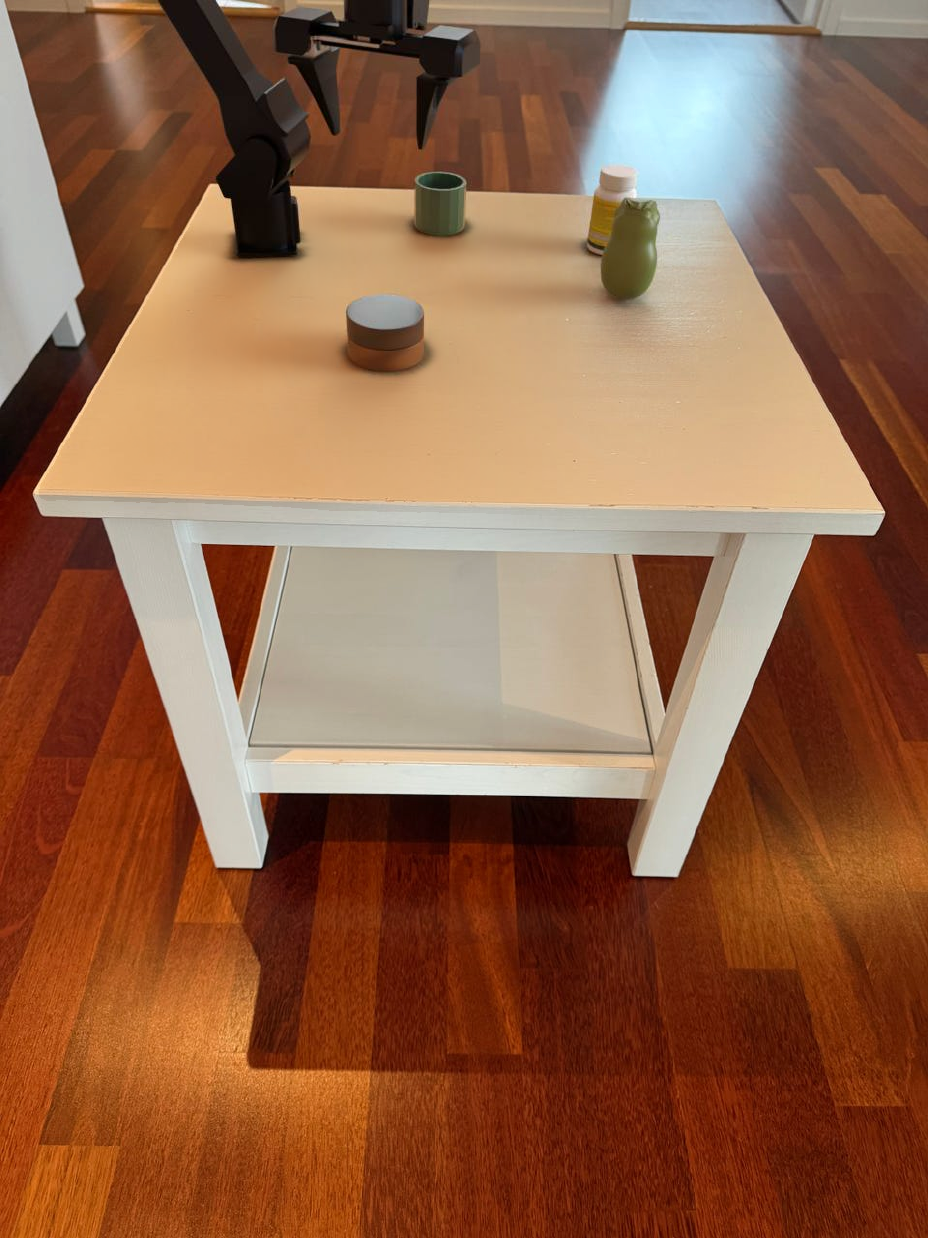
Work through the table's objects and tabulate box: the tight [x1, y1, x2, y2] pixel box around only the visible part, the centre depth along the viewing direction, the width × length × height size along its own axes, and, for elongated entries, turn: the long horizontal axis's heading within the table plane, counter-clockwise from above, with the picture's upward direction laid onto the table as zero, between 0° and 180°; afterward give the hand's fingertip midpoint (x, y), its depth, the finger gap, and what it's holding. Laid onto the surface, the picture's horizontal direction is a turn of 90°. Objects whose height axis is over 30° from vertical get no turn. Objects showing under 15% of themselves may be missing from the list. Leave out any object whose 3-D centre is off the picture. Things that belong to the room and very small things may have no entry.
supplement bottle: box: [586, 164, 639, 256], centre depth 101 cm, size 5×5×8 cm
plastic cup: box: [413, 171, 468, 237], centre depth 105 cm, size 6×6×5 cm
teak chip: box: [346, 333, 425, 372], centre depth 84 cm, size 7×7×2 cm
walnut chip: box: [345, 293, 425, 350], centre depth 83 cm, size 7×7×2 cm
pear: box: [600, 197, 661, 301], centre depth 92 cm, size 6×5×10 cm
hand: (378, 141), depth 91 cm, fingers open, 9 cm apart
